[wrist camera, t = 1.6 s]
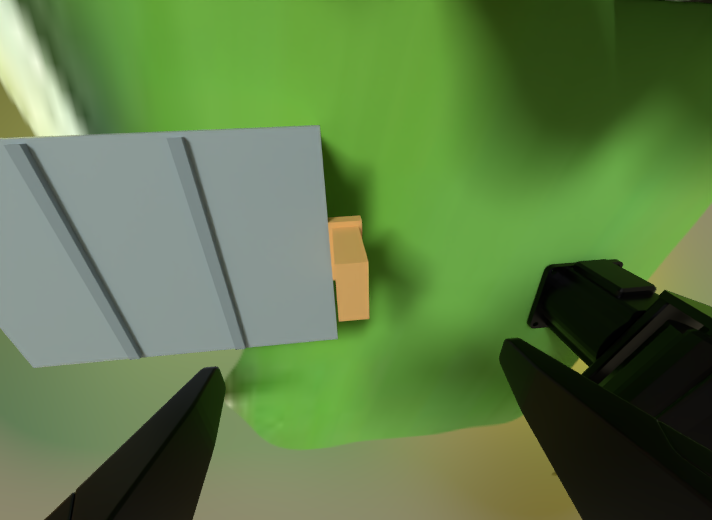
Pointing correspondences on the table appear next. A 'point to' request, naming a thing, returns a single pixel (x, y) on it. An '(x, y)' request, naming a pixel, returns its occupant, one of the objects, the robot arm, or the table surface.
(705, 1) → the chalk box
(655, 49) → the table surface
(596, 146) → the table surface
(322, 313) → the lid
